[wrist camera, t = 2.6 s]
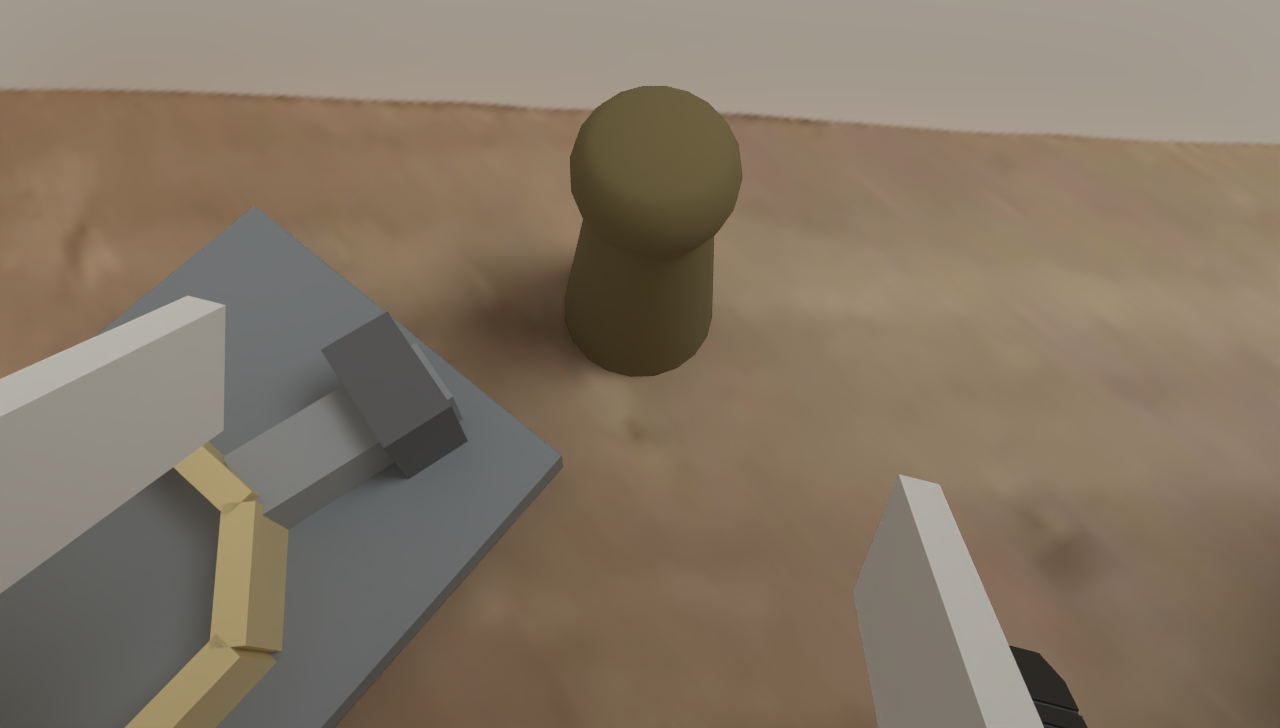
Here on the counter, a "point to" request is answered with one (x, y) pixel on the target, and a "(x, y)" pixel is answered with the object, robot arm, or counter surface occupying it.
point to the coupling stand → (274, 518)
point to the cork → (648, 227)
